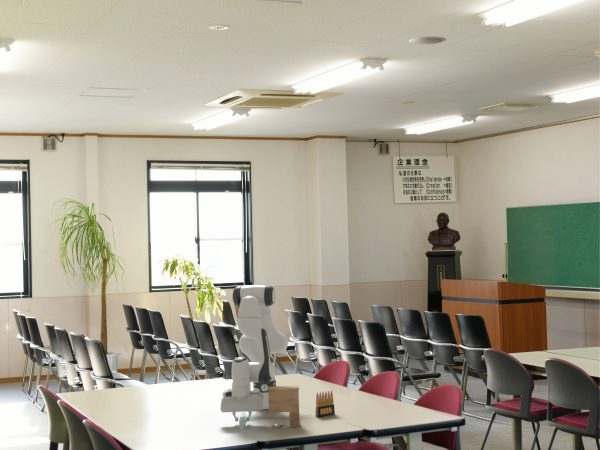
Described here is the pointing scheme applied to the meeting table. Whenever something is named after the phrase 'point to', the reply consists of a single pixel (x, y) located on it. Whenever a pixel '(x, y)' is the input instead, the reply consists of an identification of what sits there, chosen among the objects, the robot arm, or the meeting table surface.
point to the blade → (242, 420)
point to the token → (277, 425)
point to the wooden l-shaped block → (285, 402)
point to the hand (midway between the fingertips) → (242, 421)
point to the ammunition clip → (324, 405)
